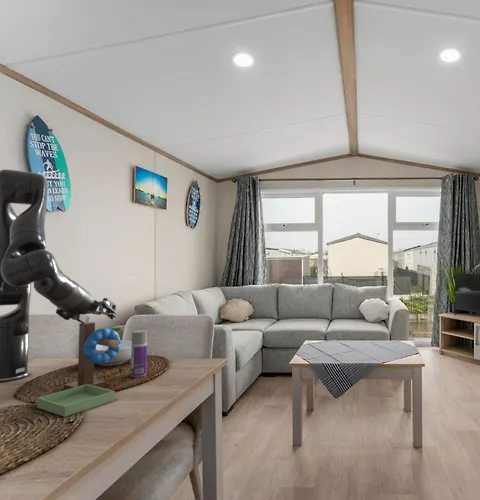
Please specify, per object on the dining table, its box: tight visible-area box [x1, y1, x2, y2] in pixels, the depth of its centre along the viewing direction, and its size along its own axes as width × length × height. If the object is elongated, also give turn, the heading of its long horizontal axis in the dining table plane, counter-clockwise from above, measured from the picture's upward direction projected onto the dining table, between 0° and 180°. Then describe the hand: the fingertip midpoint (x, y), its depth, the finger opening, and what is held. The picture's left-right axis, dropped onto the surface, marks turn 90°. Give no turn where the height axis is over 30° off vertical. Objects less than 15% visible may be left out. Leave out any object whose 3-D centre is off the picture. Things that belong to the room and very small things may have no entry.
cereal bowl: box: [96, 339, 132, 367], centre depth 149 cm, size 17×17×7 cm
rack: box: [63, 321, 119, 390], centre depth 120 cm, size 18×8×20 cm, turn 64°
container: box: [130, 329, 148, 378], centre depth 135 cm, size 5×5×15 cm
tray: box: [36, 384, 116, 418], centre depth 108 cm, size 13×13×3 cm
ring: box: [83, 327, 121, 365], centre depth 118 cm, size 3×11×10 cm, turn 154°
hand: (99, 318), depth 122 cm, fingers open, 8 cm apart
